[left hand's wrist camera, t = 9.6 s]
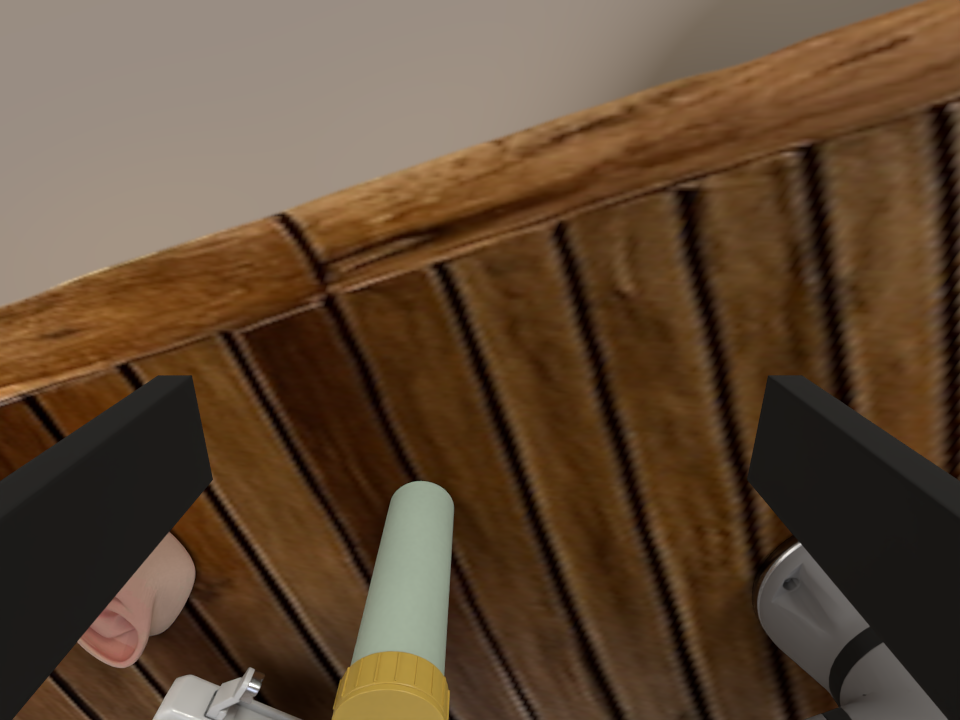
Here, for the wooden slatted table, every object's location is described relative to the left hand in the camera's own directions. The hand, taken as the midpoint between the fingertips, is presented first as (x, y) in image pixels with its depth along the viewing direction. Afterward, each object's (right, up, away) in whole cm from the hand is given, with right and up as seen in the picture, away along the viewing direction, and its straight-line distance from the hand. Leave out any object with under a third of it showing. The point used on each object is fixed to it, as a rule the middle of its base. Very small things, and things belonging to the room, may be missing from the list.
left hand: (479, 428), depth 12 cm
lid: (-5, -18, +16) cm, 24 cm away
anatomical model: (-31, -17, +36) cm, 50 cm away
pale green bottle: (-5, -11, +33) cm, 35 cm away
